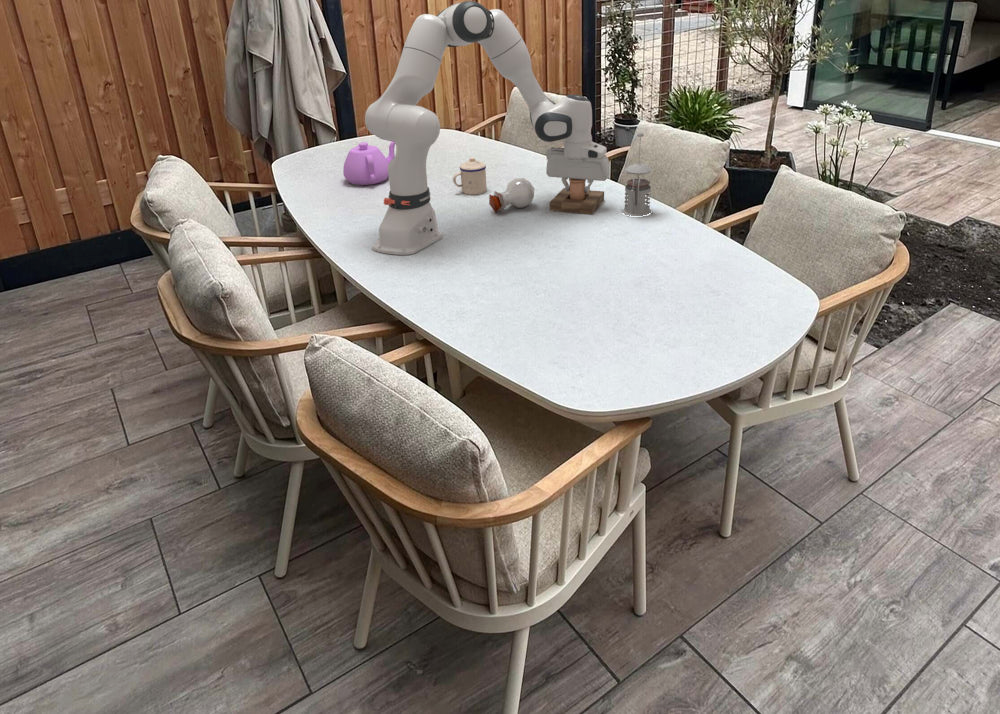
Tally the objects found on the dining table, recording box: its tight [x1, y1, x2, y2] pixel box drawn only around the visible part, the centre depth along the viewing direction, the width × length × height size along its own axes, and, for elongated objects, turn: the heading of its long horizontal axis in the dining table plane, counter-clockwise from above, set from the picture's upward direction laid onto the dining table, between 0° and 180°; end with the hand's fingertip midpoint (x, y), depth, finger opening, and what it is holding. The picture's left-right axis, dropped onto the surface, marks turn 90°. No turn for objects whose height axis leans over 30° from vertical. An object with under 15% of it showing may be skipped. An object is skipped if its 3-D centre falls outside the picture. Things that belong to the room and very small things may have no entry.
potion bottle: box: [488, 177, 535, 214], centre depth 247 cm, size 9×10×15 cm
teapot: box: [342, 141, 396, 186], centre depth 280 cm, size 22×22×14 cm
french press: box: [621, 131, 653, 216], centre depth 234 cm, size 10×12×25 cm
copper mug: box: [568, 178, 587, 200], centre depth 247 cm, size 8×5×9 cm, turn 158°
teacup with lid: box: [452, 156, 487, 196], centre depth 263 cm, size 12×9×12 cm
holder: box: [549, 187, 605, 216], centre depth 248 cm, size 14×14×3 cm
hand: (577, 191), depth 246 cm, fingers closed on copper mug, 5 cm apart
